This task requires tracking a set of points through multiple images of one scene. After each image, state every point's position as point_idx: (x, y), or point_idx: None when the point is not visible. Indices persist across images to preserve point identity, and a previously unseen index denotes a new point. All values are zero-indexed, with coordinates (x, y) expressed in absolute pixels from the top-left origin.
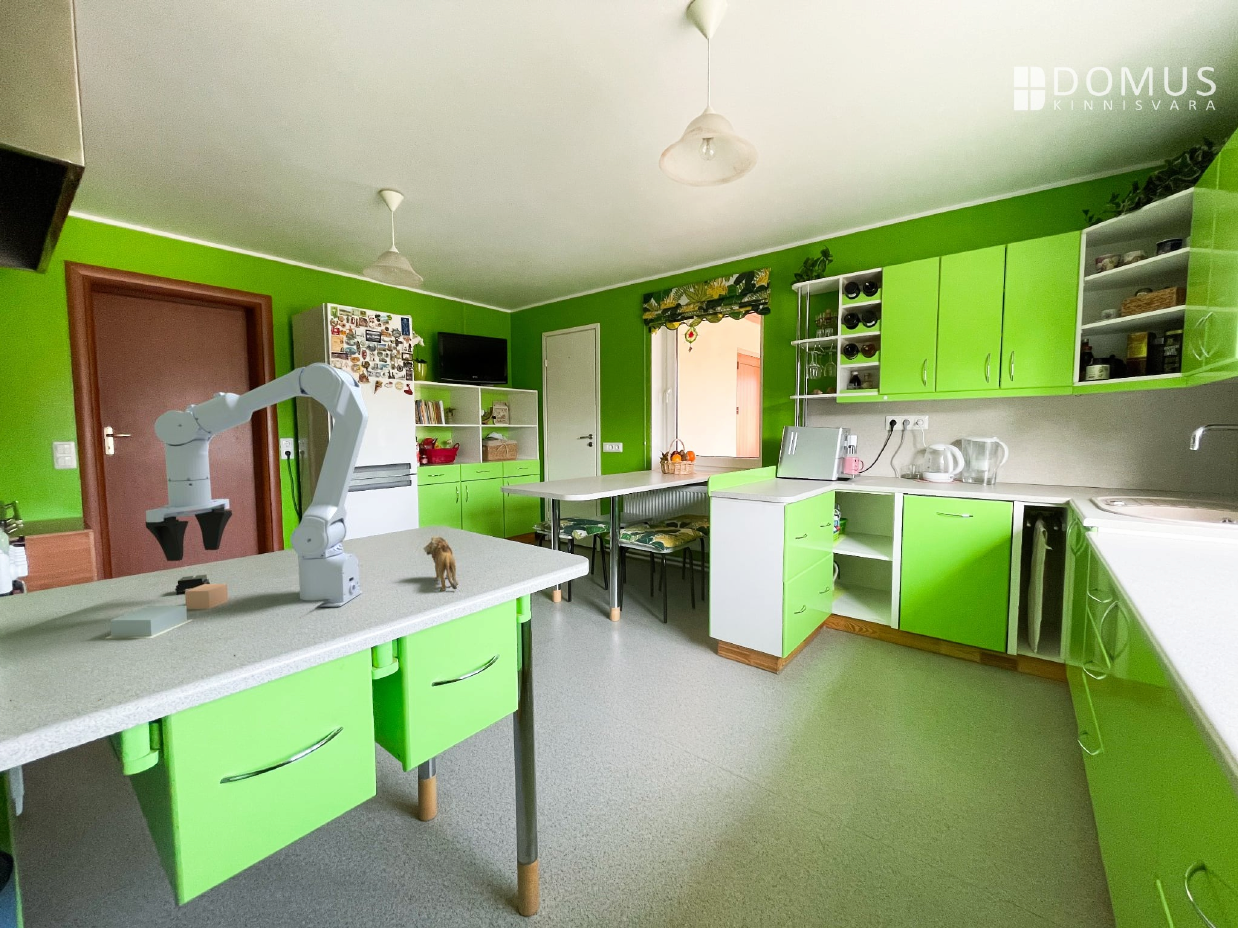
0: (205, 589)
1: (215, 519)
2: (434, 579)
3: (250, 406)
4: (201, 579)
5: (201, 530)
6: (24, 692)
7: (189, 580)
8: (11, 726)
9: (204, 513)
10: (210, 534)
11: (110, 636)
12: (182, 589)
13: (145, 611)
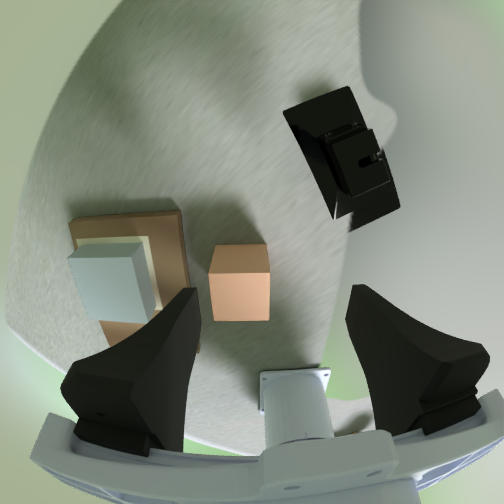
0: (224, 307)
1: (387, 414)
2: (352, 433)
3: None
4: (351, 195)
5: (392, 324)
6: (13, 267)
7: (342, 170)
8: (5, 311)
9: (419, 410)
10: (372, 344)
11: (82, 242)
12: (328, 151)
13: (108, 279)
